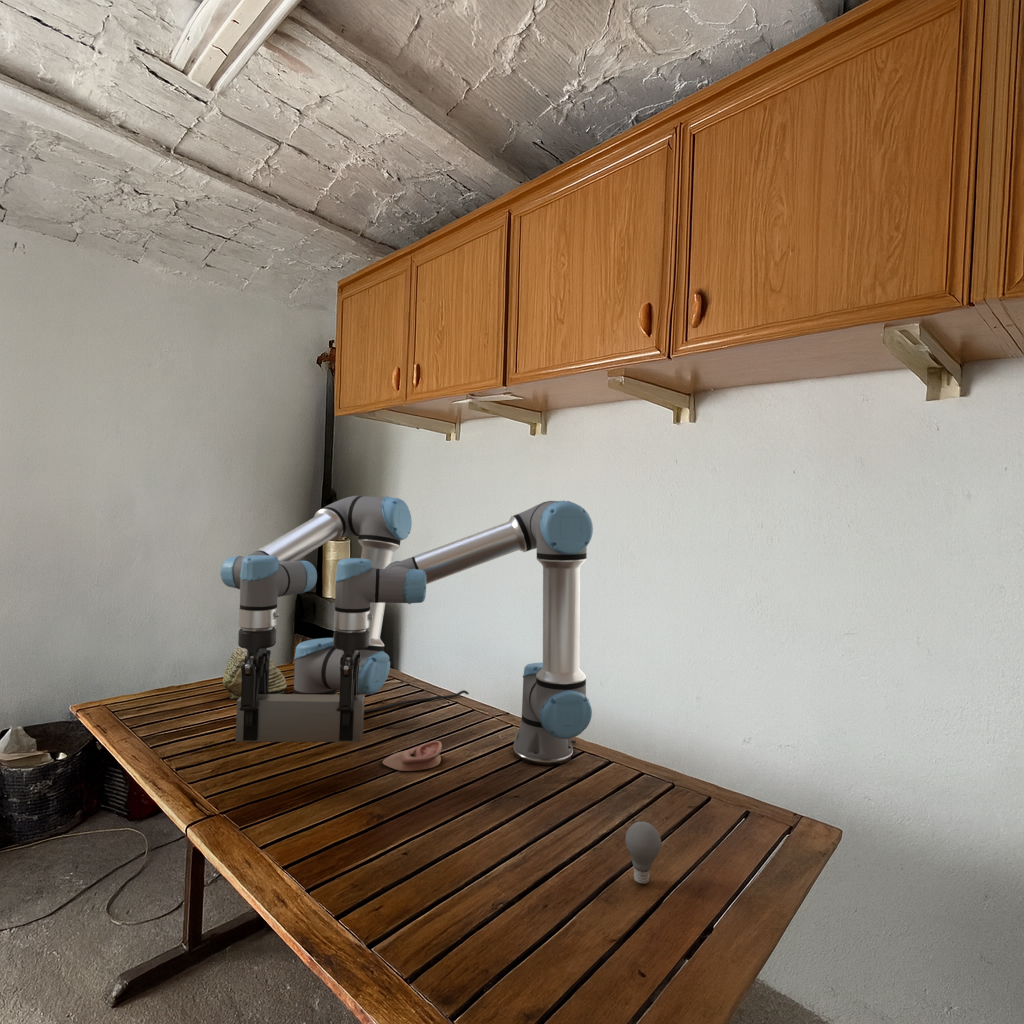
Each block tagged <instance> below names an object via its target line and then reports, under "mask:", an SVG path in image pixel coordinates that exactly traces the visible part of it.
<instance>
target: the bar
mask: <svg viewBox="0 0 1024 1024" xmlns="http://www.w3.org/2000/svg"><path fill="white" fill-rule="evenodd" d="M365 696H366V695H363V694H358V695H353V710H354V714H353V739H352V741H339V731H340V711H337V708H339V699H340V694H337V695H316V694H294V693H292V694H291V693H288V694H287V693H280V694H258V700H257V709H258V733H257V740H256V741H243V726H244V711H240V708H241V697H240V698H237V700H236V713H235V715H236V717H235V723H236V724H235V743H361V741H362V739H363V736H364V722H365V721H364V719H365V713H364V710H365V698H366V697H365Z"/></svg>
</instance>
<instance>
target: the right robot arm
mask: <svg viewBox="0 0 1024 1024" xmlns="http://www.w3.org/2000/svg"><path fill="white" fill-rule="evenodd" d="M593 525H594V524H593V521H592V518H591V516H590V514H589V513H588V512H587V510H586V509H585V508H584V507H582V506H581V505H580V504H577V503H576V502H572V501H570V500H547V501H543V502H541V503H538V504H536V505H534V506H532V507H531V508H528V509H526V510H524V511H522V512H519V513H516V514H513V515H511V516H510V518H509V520H508V521H507V522H504V523H501V524H498V525H495V526H493V527H489V528H487V529H484V530H482V531H479V532H477V533H474V534H471V535H468V536H466V537H465V536H464V537H462V538H459V539H457V540H454V541H452V542H448V543H446V544H443V545H440V546H438V547H436V548H435V547H434V548H432V549H430V550H427V551H425V552H421V553H419V554H416V555H414V556H412V557H408V558H405V559H403V560H395V561H392V563H390V564H389V565H388V566H387V567H386V568H385V569H376V568H373V566H372V562H371V560H369V559H361V557H360V558H359V557H350V558H342V559H340V560H339V561H338V562H337V564H336V572H335V573H336V575H335V587H334V589H335V590H334V593H335V594H334V612H333V613H334V614H333V628H334V629H335V630H334V631H333V638H334V642H333V646H334V648H336V649H338V650H343V651H344V654H343V655H342V657H341V658H340V665H341V666H340V691H339V695H340V699H339V708H337V711H340V731H339V741H352V739H353V714H354V710H353V695H359V694H358V693H359V691H358V683H359V670H360V660H361V655H360V651H358V650H363V649H365V648H367V647H368V646H369V631H368V630H367V629H368V628H369V619H372V618H373V616H372V615H369V613H370V603H374V602H375V603H385V604H408V605H411V604H421V603H423V602H425V600H426V596H427V585H429V584H431V583H434V582H437V581H439V580H443V579H445V578H447V577H451V576H453V575H455V574H457V573H461V572H463V571H466V570H469V569H472V568H474V567H477V566H480V565H482V564H485V563H488V562H491V561H494V560H496V559H499V558H502V557H504V556H507V555H509V554H513V553H516V552H517V551H520V552H522V553H526V552H529V551H531V550H536V560H537V562H538V563H539V564H541V566H542V662H531V663H528V664H526V665H525V666H524V667H523V668H524V669H523V675H522V697H521V698H522V701H521V721H520V725H519V727H518V730H516V733H515V739H514V741H513V746H512V754H513V756H515V757H516V758H517V759H518V760H520V761H522V762H524V763H528V764H532V765H535V766H558V765H563V764H565V763H568V762H569V761H571V760H572V758H573V756H574V747H573V746H574V745H575V744H576V743H577V741H576V740H574V739H573V738H576V737H578V736H579V735H581V734H582V733H583V732H584V731H585V730H586V729H587V728H588V726H589V725H590V723H591V720H592V717H593V708H592V704H591V702H590V699H589V698H588V697H587V675H586V674H585V673H584V671H583V670H581V668H580V653H581V652H580V643H581V642H580V641H581V640H580V633H581V629H580V628H581V627H580V625H581V622H580V621H581V618H580V617H581V566H582V565H583V564H584V563H585V562H586V561H587V559H588V558H587V557H588V555H587V554H588V553H587V550H588V549H587V548H588V547H587V546H589V544H590V543H591V541H592V539H593V533H594V526H593ZM375 577H376V582H375ZM573 744H574V745H573Z"/></svg>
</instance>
